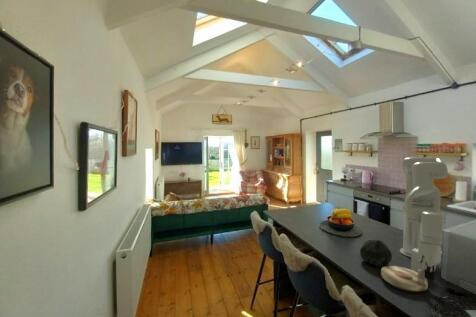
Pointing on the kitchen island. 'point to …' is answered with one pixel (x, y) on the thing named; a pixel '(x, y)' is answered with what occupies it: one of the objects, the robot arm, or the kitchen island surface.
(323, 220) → the kitchen island surface
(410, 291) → the turntable base
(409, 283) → the turntable
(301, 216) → the kitchen island surface
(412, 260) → the skincare box
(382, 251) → the squash
